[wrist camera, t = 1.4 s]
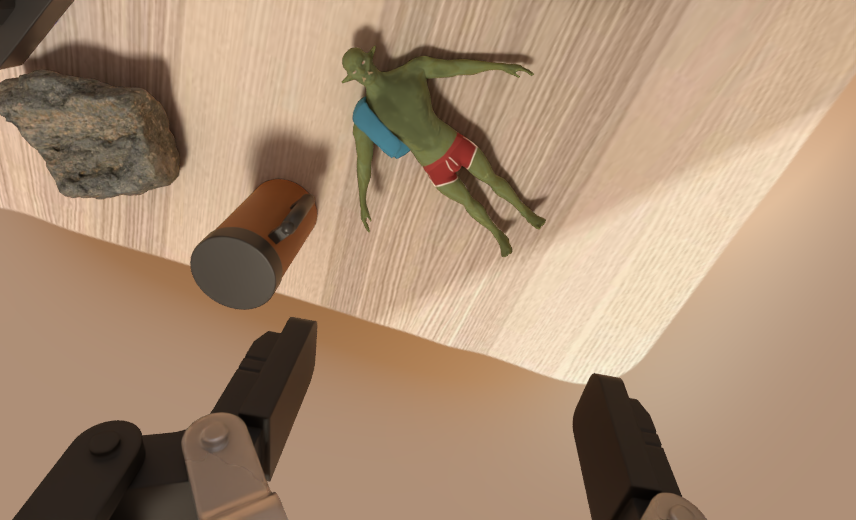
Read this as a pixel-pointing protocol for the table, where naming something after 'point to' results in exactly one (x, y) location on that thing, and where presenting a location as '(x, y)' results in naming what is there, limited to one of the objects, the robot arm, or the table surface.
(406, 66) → the figurine
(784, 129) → the table surface
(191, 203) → the table surface
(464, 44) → the table surface
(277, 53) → the table surface
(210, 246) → the orange canister with lid
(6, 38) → the control block
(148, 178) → the rock
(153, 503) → the robot arm
